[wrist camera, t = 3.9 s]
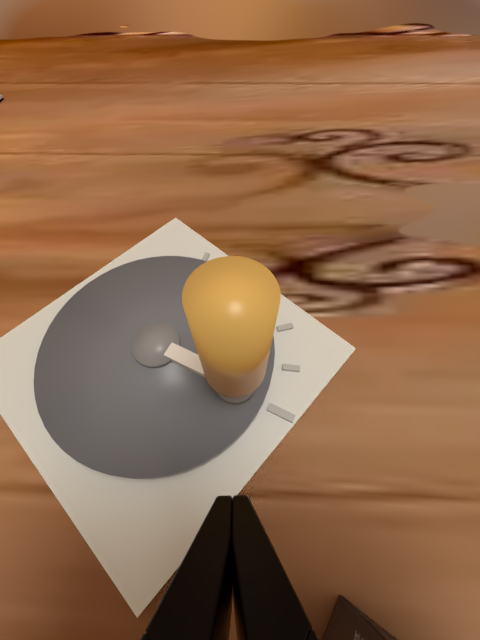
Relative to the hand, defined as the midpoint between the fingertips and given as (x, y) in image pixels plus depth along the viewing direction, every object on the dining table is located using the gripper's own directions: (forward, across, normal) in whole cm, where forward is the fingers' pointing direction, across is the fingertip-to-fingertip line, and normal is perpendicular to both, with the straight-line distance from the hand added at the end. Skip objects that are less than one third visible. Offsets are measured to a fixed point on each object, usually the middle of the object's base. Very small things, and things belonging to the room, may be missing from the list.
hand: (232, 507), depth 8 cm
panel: (+14, +5, +2) cm, 16 cm away
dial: (+14, +5, +2) cm, 16 cm away
